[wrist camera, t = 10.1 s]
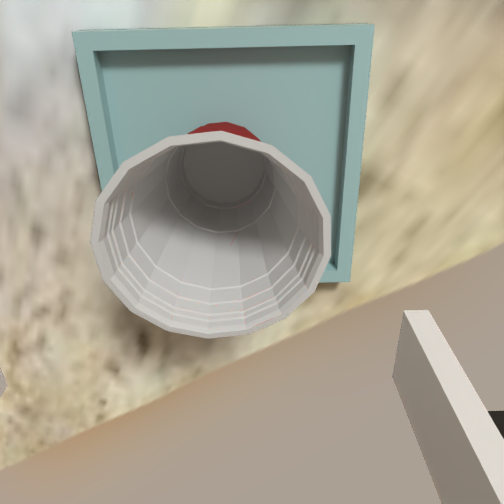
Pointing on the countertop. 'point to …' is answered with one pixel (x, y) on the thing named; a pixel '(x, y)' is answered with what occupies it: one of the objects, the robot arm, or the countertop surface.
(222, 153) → the plastic cup
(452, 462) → the robot arm
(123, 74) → the tray
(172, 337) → the countertop surface
